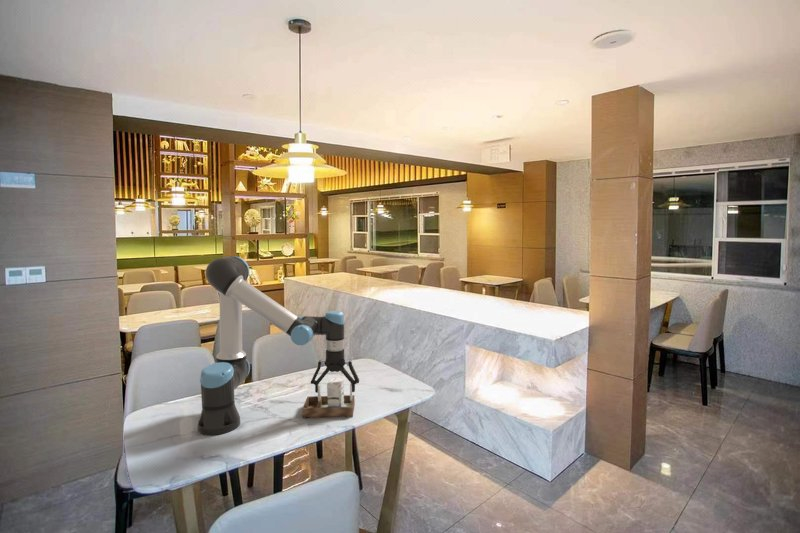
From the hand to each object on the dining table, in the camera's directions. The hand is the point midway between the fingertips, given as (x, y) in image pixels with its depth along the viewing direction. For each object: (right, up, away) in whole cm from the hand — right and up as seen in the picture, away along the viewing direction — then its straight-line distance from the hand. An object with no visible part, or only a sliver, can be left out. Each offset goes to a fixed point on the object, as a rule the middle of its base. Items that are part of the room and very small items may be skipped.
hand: (335, 399), depth 182 cm
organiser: (-2, -5, 0) cm, 5 cm away
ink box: (0, -4, 0) cm, 4 cm away
